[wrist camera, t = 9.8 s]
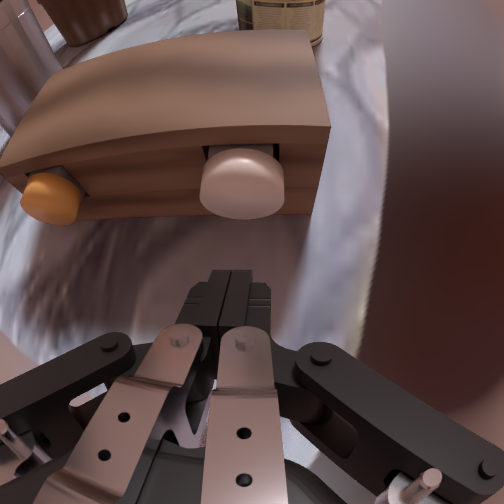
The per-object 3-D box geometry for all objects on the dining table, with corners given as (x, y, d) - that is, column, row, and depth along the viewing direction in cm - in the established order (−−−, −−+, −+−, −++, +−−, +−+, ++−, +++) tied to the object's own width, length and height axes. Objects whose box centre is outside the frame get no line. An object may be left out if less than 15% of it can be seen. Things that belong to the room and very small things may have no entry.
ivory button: (283, 219, 16) (285, 174, 12) (208, 220, 16) (190, 177, 12) (279, 131, 18) (280, 83, 14) (218, 132, 18) (208, 86, 15)
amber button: (86, 224, 16) (51, 191, 13) (44, 227, 17) (9, 198, 13) (111, 144, 19) (88, 107, 15) (71, 152, 19) (46, 120, 15)
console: (311, 214, 19) (330, 126, 12) (55, 222, 20) (-5, 169, 13) (301, 111, 23) (306, 30, 15) (89, 131, 24) (53, 73, 17)
